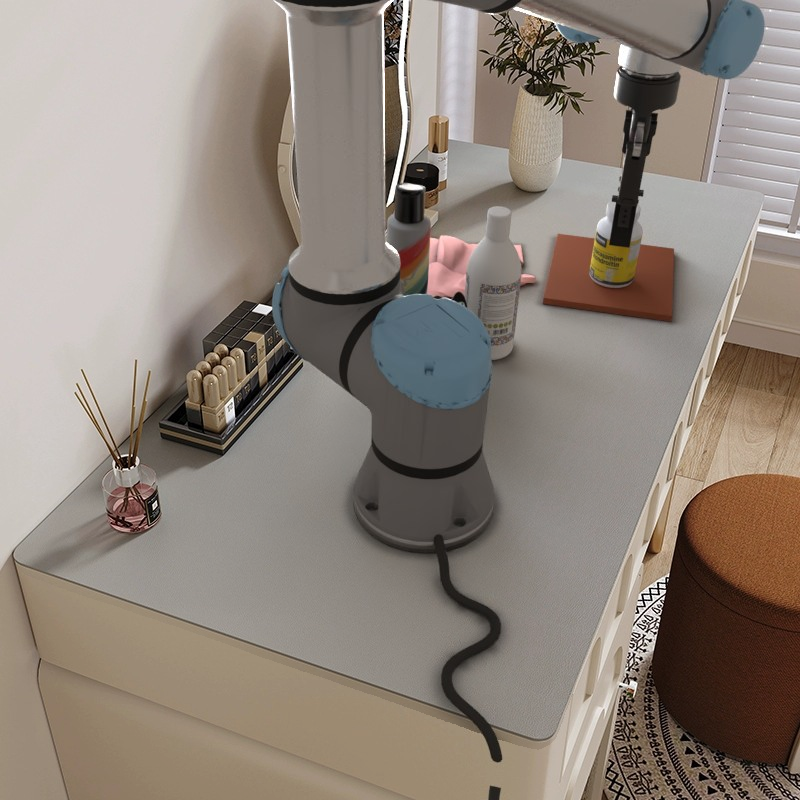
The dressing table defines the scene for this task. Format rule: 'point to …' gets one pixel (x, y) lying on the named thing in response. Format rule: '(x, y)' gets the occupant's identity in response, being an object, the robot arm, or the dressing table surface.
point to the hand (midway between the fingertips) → (619, 243)
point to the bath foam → (495, 282)
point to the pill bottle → (614, 253)
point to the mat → (579, 291)
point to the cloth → (454, 266)
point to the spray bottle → (411, 237)
